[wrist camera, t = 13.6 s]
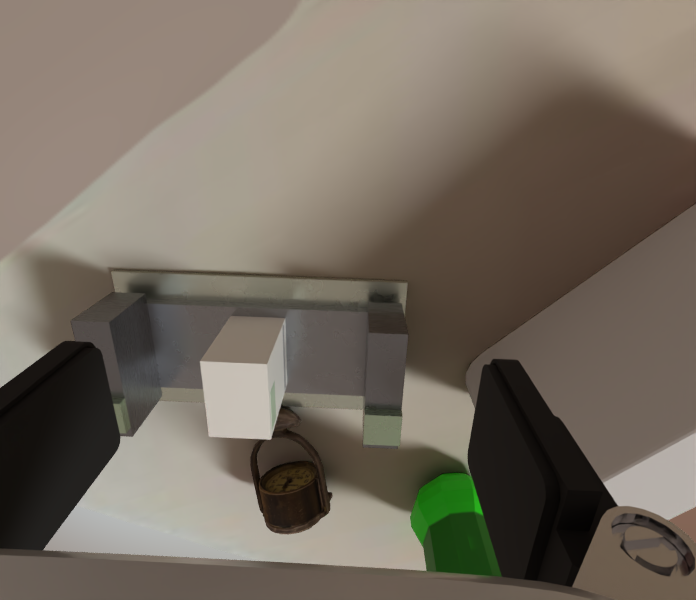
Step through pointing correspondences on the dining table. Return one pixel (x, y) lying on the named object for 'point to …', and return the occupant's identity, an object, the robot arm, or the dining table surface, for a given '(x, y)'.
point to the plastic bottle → (453, 527)
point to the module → (245, 377)
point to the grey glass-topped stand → (254, 301)
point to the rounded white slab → (623, 368)
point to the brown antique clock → (291, 484)
